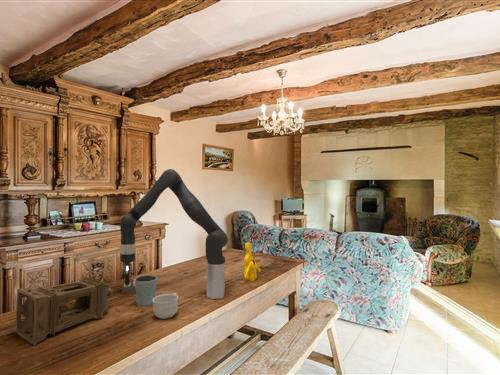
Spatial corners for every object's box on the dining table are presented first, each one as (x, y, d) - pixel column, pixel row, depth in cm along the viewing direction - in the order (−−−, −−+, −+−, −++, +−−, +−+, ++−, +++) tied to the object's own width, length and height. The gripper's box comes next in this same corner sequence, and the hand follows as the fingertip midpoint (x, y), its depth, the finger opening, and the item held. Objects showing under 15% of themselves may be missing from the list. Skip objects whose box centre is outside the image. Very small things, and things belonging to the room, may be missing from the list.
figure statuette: (247, 284, 173) (248, 246, 172) (236, 281, 177) (237, 244, 177) (263, 276, 188) (264, 241, 187) (252, 274, 192) (253, 240, 192)
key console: (150, 290, 160) (150, 282, 160) (121, 293, 155) (122, 285, 155) (149, 283, 171) (149, 275, 171) (123, 285, 166) (123, 278, 166)
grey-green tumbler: (150, 297, 151) (151, 273, 151) (160, 303, 144) (161, 278, 144) (130, 302, 144) (131, 277, 144) (140, 309, 137) (140, 283, 137)
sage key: (130, 290, 157) (130, 285, 157) (123, 290, 156) (123, 286, 156) (130, 287, 161) (130, 282, 161) (124, 287, 160) (124, 283, 160)
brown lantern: (103, 308, 142) (102, 269, 144) (126, 313, 133) (124, 271, 134) (15, 338, 113) (14, 288, 115) (35, 346, 104) (34, 292, 105)
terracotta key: (139, 287, 159) (139, 283, 159) (133, 288, 157) (133, 283, 157) (139, 284, 163) (139, 280, 163) (133, 285, 162) (133, 280, 162)
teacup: (164, 323, 123) (164, 304, 123) (146, 317, 129) (147, 298, 129) (188, 311, 135) (188, 294, 135) (171, 306, 141) (171, 289, 141)
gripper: (135, 254, 154) (134, 288, 154) (135, 248, 166) (135, 280, 166) (119, 255, 151) (118, 289, 151) (120, 249, 163) (120, 281, 164)
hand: (127, 284), depth 159 cm, fingers closed
